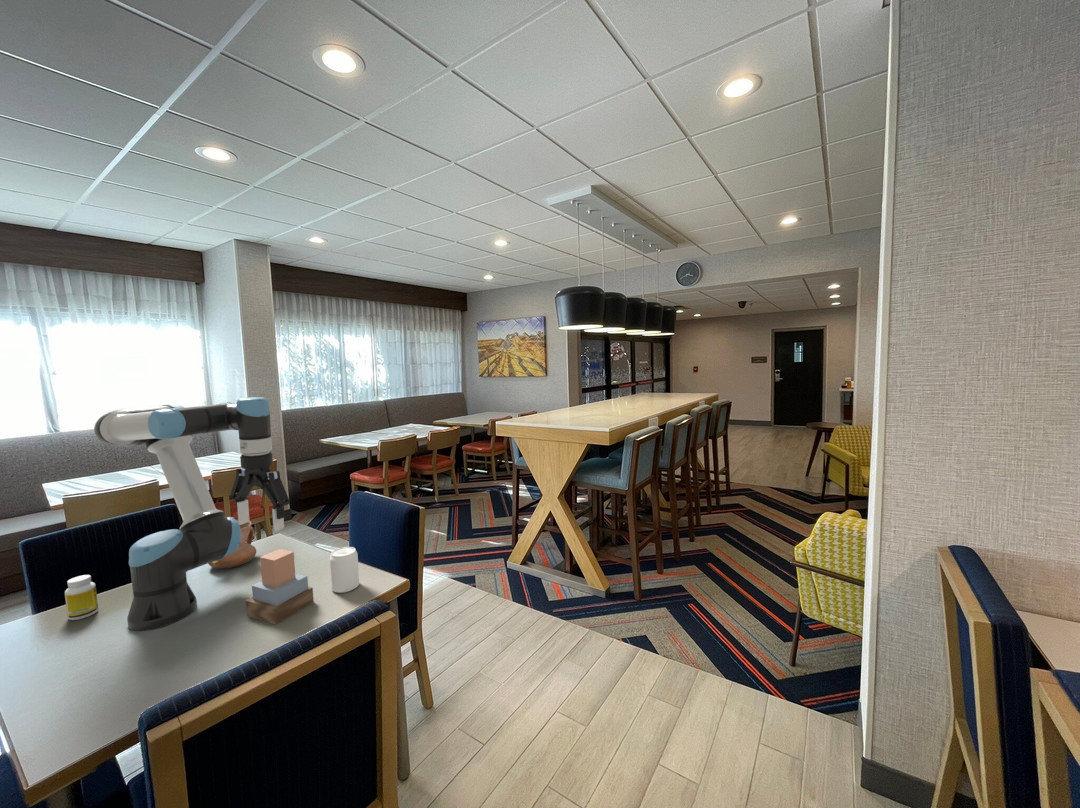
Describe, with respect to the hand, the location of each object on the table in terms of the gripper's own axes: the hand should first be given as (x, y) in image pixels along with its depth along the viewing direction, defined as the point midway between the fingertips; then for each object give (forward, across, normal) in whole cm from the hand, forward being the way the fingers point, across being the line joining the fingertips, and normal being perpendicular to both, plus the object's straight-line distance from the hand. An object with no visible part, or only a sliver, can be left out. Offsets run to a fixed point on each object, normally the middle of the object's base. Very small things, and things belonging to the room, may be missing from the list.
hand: (261, 526), depth 124 cm
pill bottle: (+27, -50, -18) cm, 60 cm away
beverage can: (+26, +12, +18) cm, 33 cm away
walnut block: (+26, +3, +2) cm, 26 cm away
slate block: (+21, +3, +2) cm, 21 cm away
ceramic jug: (+27, -41, +20) cm, 53 cm away
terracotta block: (+17, +3, +2) cm, 17 cm away
